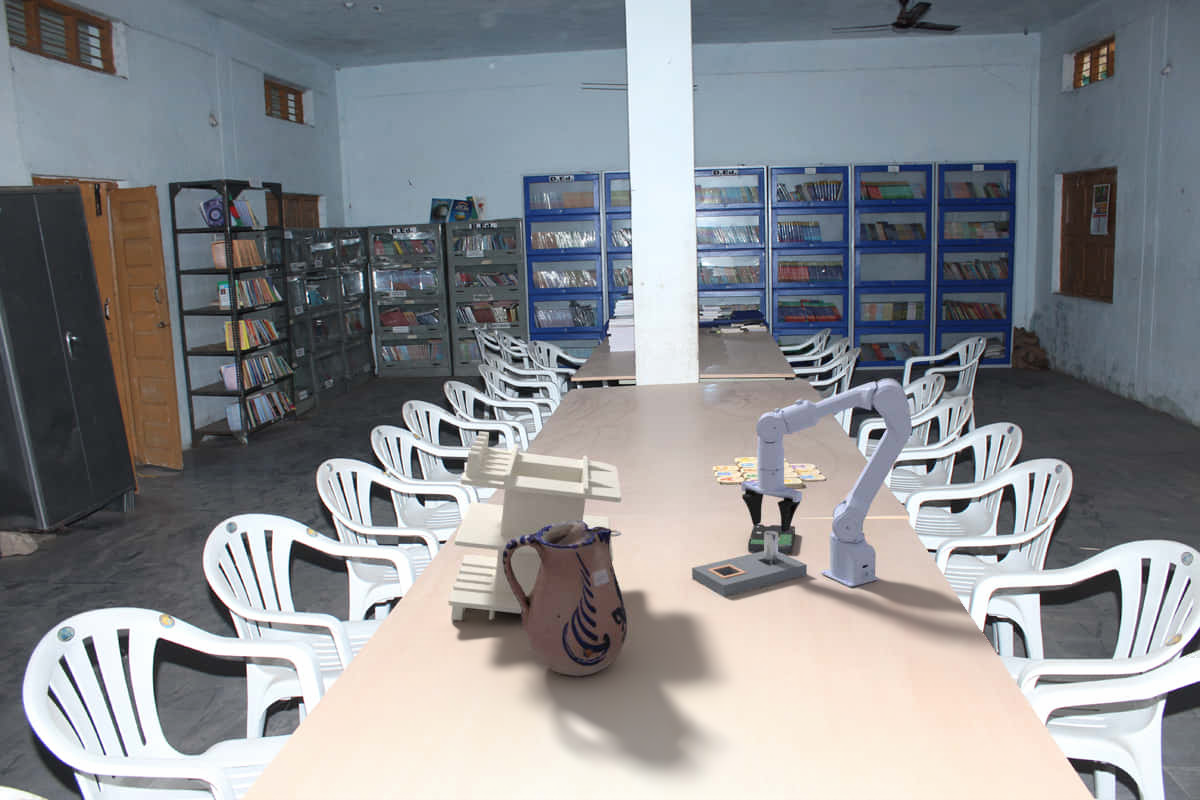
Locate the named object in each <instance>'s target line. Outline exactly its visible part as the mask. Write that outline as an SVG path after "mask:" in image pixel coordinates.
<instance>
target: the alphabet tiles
mask: <svg viewBox="0 0 1200 800" xmlns="http://www.w3.org/2000/svg"><path fill="white" fill-rule="evenodd" d="M735 463H736V464H735ZM734 464H735V465H715V466H713V467H712V471H714V472H713V473H714V477H715V479H716V481H718V482H717V483H718V484H719V483H721V484H720V485H723V484H728V485H739V484H738V483H742V482H745V481H751V482H758V466H757V456H756V457H755V456H751V457H750V456H749V457H748V456H747V457H736V458H734ZM736 465H737V466H736ZM738 471H739V472H738ZM742 476H743V477H742ZM824 480H825V481H826V477H825V476H824V475H823V474H821V472H820V470H819V469H818V468H817V467H816V466H815V465H814V464H811V463H793V464H792V463H789V462H788V461H787V459H786V457H784V486H786V487H788V488H791V489H801V488H803V487H804V485H803V484H804V483H803V481H804V482H805V483H809V482H823V481H824ZM825 481H824V482H825Z"/></svg>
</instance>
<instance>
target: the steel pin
mask: <svg viewBox="0 0 1200 800" xmlns="http://www.w3.org/2000/svg"><path fill="white" fill-rule="evenodd" d="M764 563H765V564H767V565H769V566H771V565H775V564H778V532H776V531H766V532H764Z"/></svg>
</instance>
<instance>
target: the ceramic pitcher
mask: <svg viewBox="0 0 1200 800" xmlns="http://www.w3.org/2000/svg"><path fill="white" fill-rule="evenodd" d="M612 533H613V532H612V531H611V528H610V529H609V528H605V527H594V528H592V529H588V525H587V524H586V523H585V522H583V521H573V520H572V521H566V522H562V523H556V524H550V525H548V526H545V527H543V528H541V529H540V530H539V531H538V532H537V533H535V534H531V535H528V534H526V535H520V536H517V537H515V538H514V539H512V540H510V541H509V542H508V543H507V545H506V547H505V549H504V551H503V555H502V557H503V568H504V572H505V575H506V578H507V580H508V582H509V584H510V586H511V589H512V591H513V592H514V595H515V596H516V598H517V600H518V602H519V604H520V606H521V613H520V615H521V616H520V621H521V624H522V626H523V628H524V629H525V631H526V632H527V636H528V637H527V638H528V640H529V643H530V646H531V648H532V650H533V652H534V654H535V656H536V657H537V658H538V660H539V661H540V662H541V663H542V664H543V665H544V666H545V667H547V668H548V669H550V670H552V672H553V671H554V672H557V673H558V674H562V675H565V676H566V675H567V676H573V677H575V676H576V677H582V676H589V675H592V674H596V673H597V672H600V671H602V670H603V669H605V668H606V667H607V666H609V665H610V664H611V663H612V662H613V661H615V660H616V658H617V656H618V655H619V653H620V652H621V650H622V649H623V646H624V644H625V641H626V638H627V631H628V622H627V621H628V619H627V612H626V607H625V603H624V599H623V596H622V595H623V594H622V592H621V588H620V585H619V582H618V580H617V576H616V572H615V568H614V565H613V561H611V554H610V546H609V544H610V535H611V534H612ZM527 545H529V546H531V547H533V548H535V549H536V551H537V552H538V554H539V557H540V558H541V564H540V567H539V571H538V573H537V577H536V581H535V584H534V587H533V589H532V591H531V593H530V594H529V596H526V595H525V593H524V591H523V589H522V587H521V585H520V584H519V582H518V581H517V579H516V577H515V574H514V572H513V570H512V566H511V557H512V554H513V553H514V551H515V550H516V549H518V548H520V547H522V546H527Z"/></svg>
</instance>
